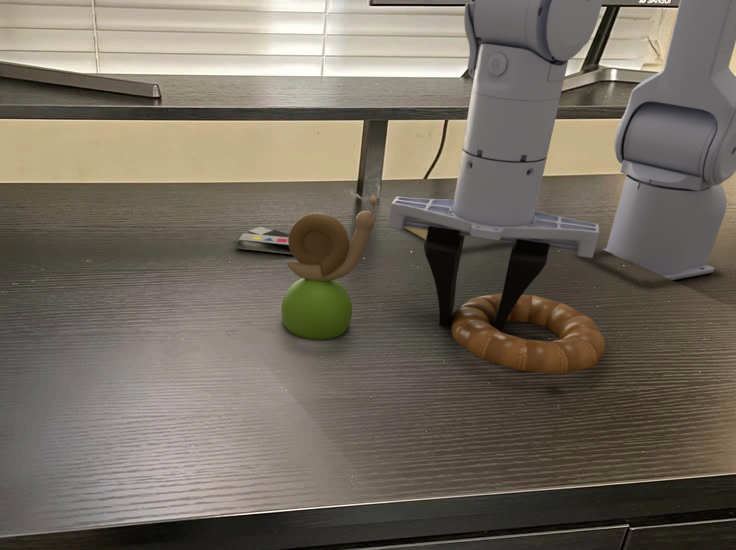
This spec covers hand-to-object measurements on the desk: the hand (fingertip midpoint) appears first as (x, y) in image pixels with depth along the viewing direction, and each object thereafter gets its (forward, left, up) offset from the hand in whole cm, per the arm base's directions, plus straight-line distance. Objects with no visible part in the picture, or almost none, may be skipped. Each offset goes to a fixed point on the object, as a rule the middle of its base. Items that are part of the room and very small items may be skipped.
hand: (470, 326), depth 58 cm
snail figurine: (+11, -4, -2) cm, 12 cm away
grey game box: (+6, -23, -1) cm, 24 cm away
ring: (-3, +3, 0) cm, 4 cm away
